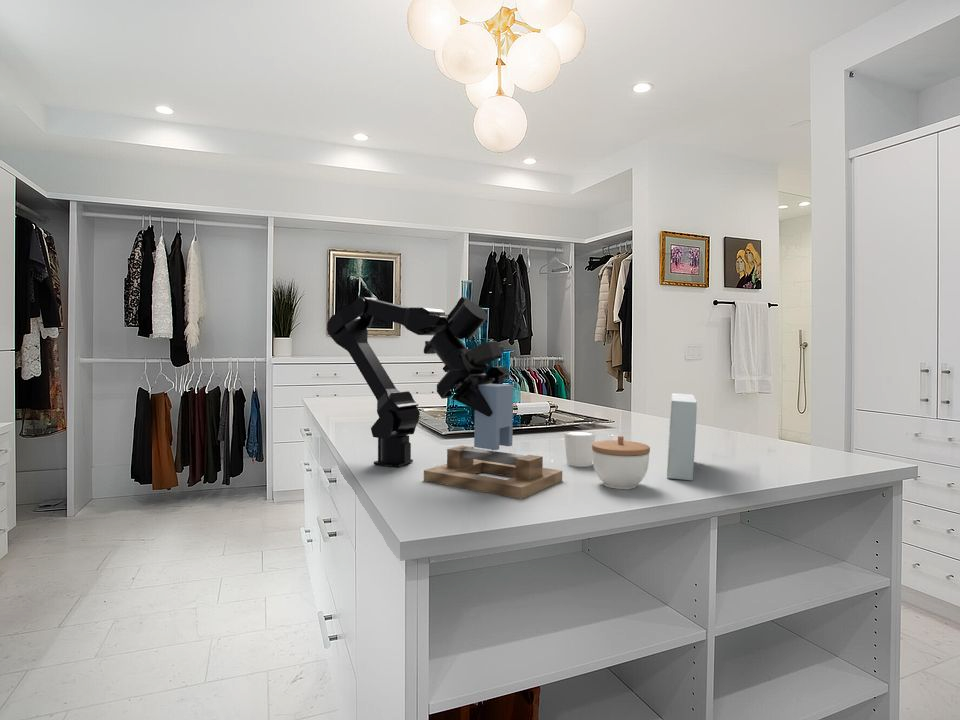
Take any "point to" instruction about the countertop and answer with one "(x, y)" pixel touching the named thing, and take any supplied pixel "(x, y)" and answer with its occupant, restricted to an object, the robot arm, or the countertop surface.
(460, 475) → the wooden block stand
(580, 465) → the white cup
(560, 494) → the countertop surface
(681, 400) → the skincare box
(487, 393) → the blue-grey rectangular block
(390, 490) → the countertop surface
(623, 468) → the lidded jar
